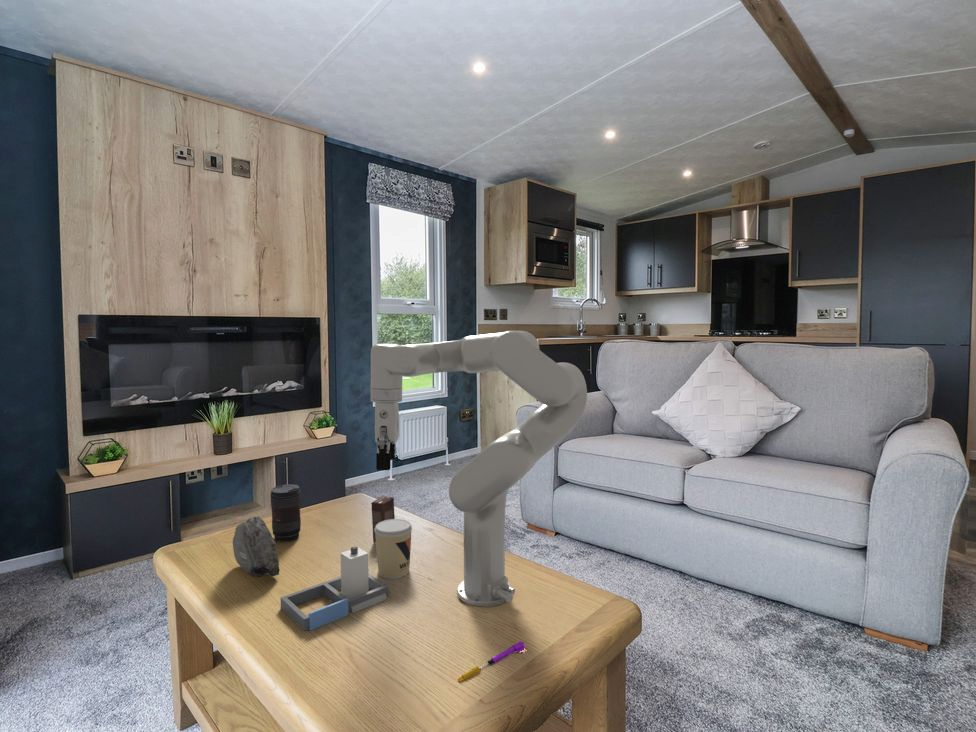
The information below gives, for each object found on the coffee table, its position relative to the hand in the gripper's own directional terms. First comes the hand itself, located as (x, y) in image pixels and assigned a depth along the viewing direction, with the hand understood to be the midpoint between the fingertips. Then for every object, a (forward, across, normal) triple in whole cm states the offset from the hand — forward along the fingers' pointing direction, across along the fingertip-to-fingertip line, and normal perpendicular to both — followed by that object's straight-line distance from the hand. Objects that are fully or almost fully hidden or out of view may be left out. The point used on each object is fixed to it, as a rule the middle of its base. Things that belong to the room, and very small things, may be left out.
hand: (385, 464), depth 128 cm
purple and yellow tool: (+28, -36, -24) cm, 52 cm away
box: (+29, +23, +3) cm, 37 cm away
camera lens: (+30, +26, +32) cm, 51 cm away
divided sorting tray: (+28, -12, +10) cm, 32 cm away
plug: (+28, -9, +6) cm, 30 cm away
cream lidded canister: (+28, +2, -2) cm, 29 cm away
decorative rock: (+29, +4, +33) cm, 44 cm away
